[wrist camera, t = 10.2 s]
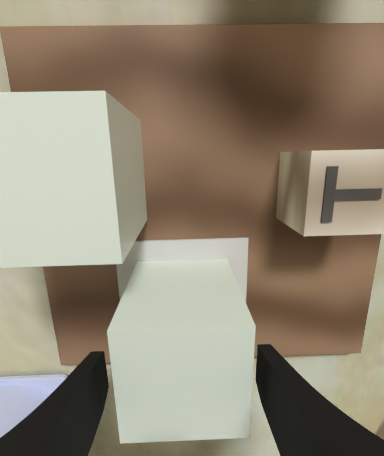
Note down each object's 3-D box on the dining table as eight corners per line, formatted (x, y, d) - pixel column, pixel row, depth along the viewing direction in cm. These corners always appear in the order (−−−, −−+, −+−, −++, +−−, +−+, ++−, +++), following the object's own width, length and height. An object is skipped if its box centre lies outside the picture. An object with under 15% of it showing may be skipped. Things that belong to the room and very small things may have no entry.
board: (352, 343, 21) (360, 353, 20) (66, 355, 20) (61, 364, 19) (403, 31, 15) (418, 22, 14) (11, 35, 15) (-1, 26, 14)
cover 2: (225, 335, 19) (249, 437, 12) (143, 338, 19) (120, 443, 12) (227, 259, 17) (255, 326, 10) (137, 261, 17) (106, 331, 10)
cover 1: (147, 219, 16) (122, 263, 10) (53, 222, 16) (-39, 269, 10) (140, 120, 15) (105, 90, 8) (36, 122, 15) (-86, 93, 8)
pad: (243, 349, 19) (244, 351, 19) (126, 353, 19) (125, 355, 19) (247, 237, 17) (248, 238, 17) (114, 241, 17) (113, 242, 17)
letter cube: (338, 216, 17) (385, 234, 13) (275, 217, 17) (304, 236, 13) (346, 150, 16) (401, 148, 12) (280, 152, 16) (312, 150, 12)
